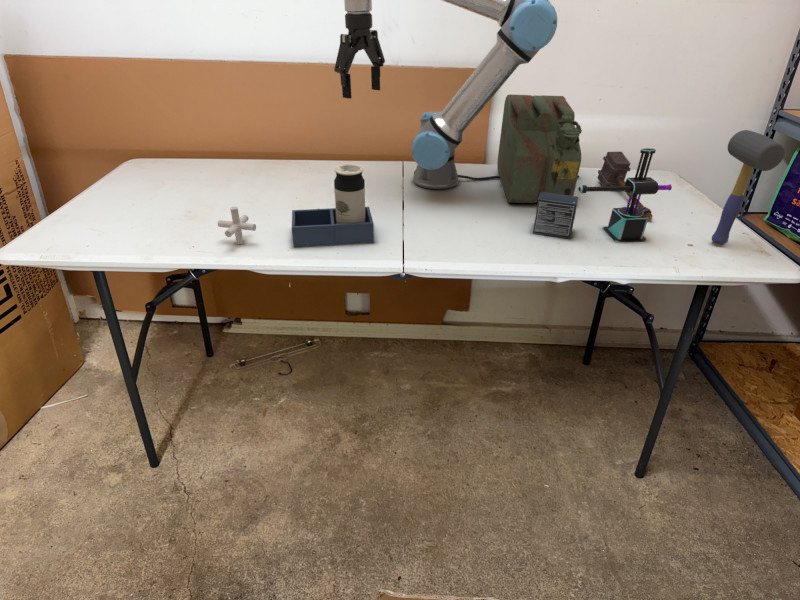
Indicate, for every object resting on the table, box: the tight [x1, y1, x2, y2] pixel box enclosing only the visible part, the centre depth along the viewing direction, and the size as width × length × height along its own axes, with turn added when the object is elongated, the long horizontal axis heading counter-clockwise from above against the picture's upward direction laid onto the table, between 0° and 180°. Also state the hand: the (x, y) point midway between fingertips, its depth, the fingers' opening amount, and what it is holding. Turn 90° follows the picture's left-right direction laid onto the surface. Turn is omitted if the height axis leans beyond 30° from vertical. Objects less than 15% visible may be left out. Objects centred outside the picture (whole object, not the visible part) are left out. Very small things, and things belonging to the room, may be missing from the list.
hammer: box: [597, 151, 654, 221], centre depth 167 cm, size 7×33×10 cm, turn 5°
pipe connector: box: [217, 206, 257, 245], centre depth 138 cm, size 10×10×10 cm
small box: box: [531, 192, 579, 240], centre depth 146 cm, size 11×6×10 cm, turn 71°
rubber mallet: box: [711, 129, 786, 247], centre depth 136 cm, size 12×8×30 cm, turn 5°
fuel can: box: [496, 94, 583, 204], centre depth 169 cm, size 19×35×27 cm, turn 178°
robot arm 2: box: [578, 147, 673, 243], centre depth 141 cm, size 25×9×24 cm, turn 96°
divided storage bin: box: [291, 206, 375, 248], centre depth 143 cm, size 21×11×6 cm, turn 99°
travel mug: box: [333, 163, 366, 224], centre depth 140 cm, size 8×8×18 cm
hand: (362, 93), depth 155 cm, fingers open, 13 cm apart
